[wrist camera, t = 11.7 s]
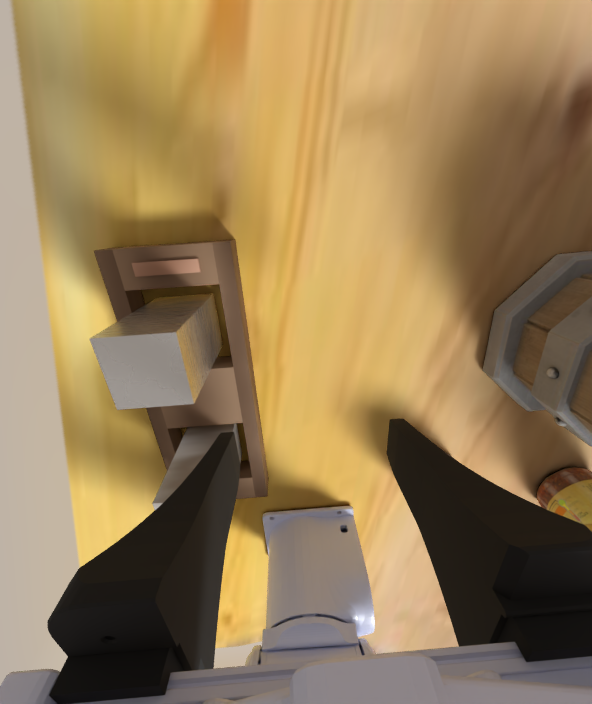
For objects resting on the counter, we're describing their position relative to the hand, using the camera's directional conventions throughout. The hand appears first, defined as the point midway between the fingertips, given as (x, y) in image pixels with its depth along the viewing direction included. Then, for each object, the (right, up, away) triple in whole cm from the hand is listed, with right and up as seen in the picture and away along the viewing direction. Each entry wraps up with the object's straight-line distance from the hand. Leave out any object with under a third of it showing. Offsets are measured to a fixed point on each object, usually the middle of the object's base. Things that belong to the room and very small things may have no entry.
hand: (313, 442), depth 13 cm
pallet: (-8, +1, +10) cm, 13 cm away
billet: (-9, +6, +8) cm, 13 cm away
